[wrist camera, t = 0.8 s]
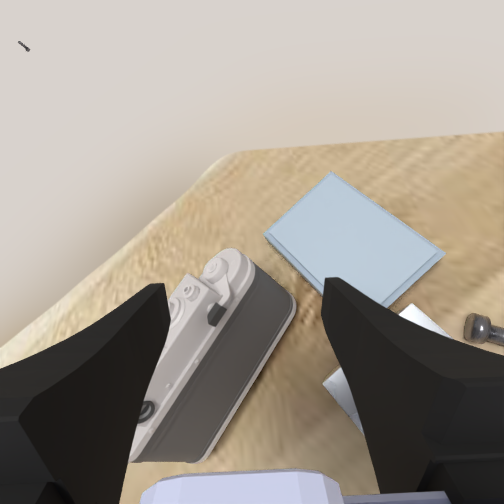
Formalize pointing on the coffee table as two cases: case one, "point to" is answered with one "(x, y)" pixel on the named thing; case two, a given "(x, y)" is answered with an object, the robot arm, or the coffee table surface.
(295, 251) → the stand
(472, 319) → the bolt
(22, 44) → the bolt
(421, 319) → the block
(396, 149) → the coffee table surface
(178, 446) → the camera
